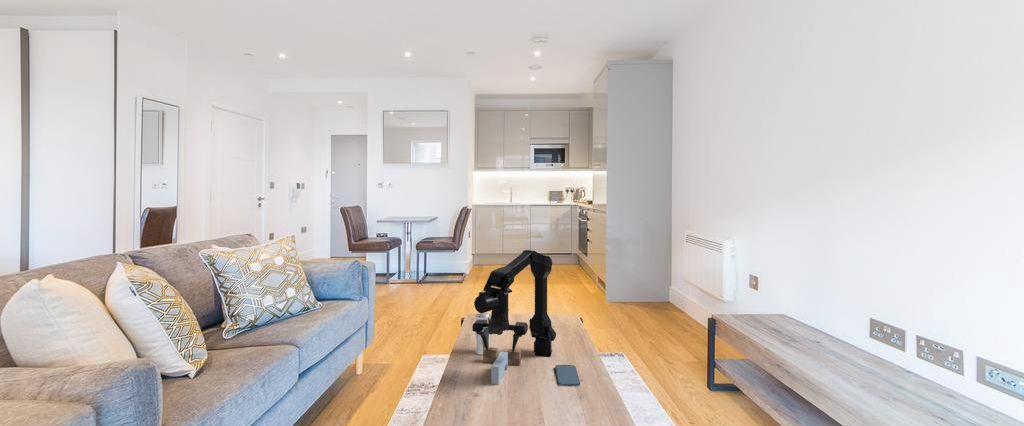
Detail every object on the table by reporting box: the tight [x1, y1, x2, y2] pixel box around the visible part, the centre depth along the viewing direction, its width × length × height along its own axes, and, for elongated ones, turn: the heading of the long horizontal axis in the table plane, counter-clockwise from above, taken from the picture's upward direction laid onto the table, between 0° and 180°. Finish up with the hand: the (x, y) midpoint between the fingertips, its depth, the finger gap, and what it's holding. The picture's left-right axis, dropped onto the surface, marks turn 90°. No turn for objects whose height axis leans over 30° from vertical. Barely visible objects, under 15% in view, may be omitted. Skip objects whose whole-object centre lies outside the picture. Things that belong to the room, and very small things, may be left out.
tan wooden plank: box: [482, 347, 522, 367], centre depth 160 cm, size 14×2×5 cm, turn 78°
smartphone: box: [554, 364, 581, 387], centre depth 148 cm, size 8×2×15 cm
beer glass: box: [473, 312, 492, 356], centre depth 171 cm, size 7×7×15 cm
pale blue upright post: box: [490, 351, 509, 386], centre depth 148 cm, size 2×14×6 cm, turn 168°
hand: (500, 351), depth 148 cm, fingers open, 9 cm apart
